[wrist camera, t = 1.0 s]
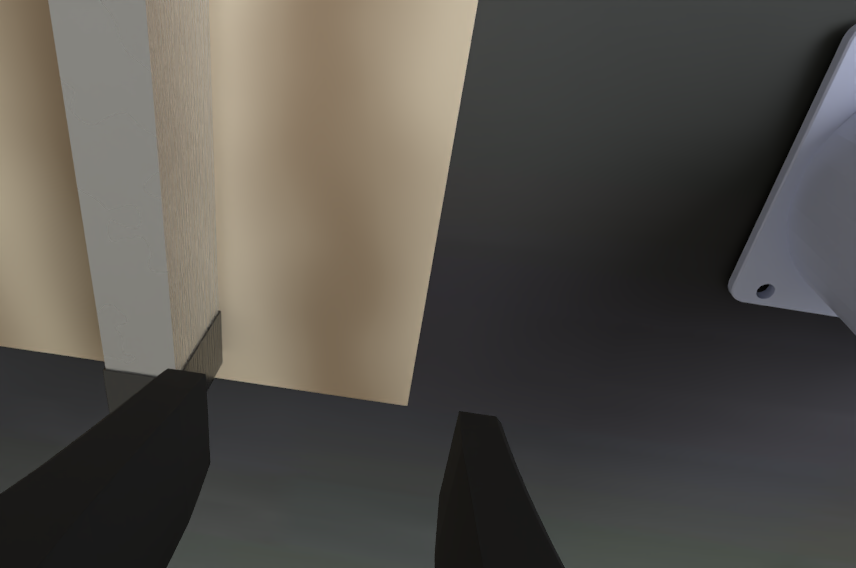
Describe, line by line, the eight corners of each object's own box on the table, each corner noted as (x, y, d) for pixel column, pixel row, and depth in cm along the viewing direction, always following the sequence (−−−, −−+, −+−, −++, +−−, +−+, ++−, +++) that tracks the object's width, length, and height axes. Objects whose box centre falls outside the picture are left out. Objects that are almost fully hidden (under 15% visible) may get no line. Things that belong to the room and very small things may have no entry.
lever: (41, -643, 10) (-286, -1077, 5) (222, -607, 10) (37, -1006, 5) (148, 351, 20) (63, 469, 15) (236, 364, 20) (175, 484, 15)
